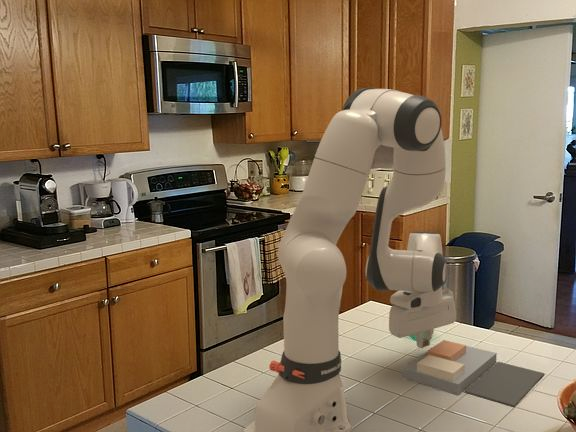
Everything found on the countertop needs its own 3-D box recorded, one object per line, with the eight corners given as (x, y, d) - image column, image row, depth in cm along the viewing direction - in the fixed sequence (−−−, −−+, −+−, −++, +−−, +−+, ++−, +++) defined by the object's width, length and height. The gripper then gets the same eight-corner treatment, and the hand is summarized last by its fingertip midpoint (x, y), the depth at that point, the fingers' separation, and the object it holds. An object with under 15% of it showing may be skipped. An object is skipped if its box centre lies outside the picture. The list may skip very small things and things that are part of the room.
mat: (514, 407, 120) (514, 405, 120) (464, 392, 127) (464, 390, 127) (544, 374, 135) (544, 373, 135) (498, 363, 142) (498, 361, 142)
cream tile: (464, 372, 132) (464, 364, 131) (453, 381, 127) (453, 373, 127) (428, 362, 138) (428, 354, 137) (416, 371, 133) (416, 363, 133)
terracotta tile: (450, 364, 136) (450, 356, 136) (427, 358, 140) (427, 350, 140) (465, 352, 143) (466, 345, 142) (443, 347, 147) (443, 339, 146)
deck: (458, 394, 126) (458, 384, 126) (402, 377, 135) (402, 367, 135) (496, 362, 143) (496, 353, 142) (444, 349, 152) (444, 340, 151)
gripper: (443, 284, 151) (442, 334, 153) (385, 297, 141) (384, 351, 143) (462, 289, 146) (461, 341, 148) (402, 304, 135) (402, 359, 138)
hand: (423, 346), depth 145 cm, fingers closed
